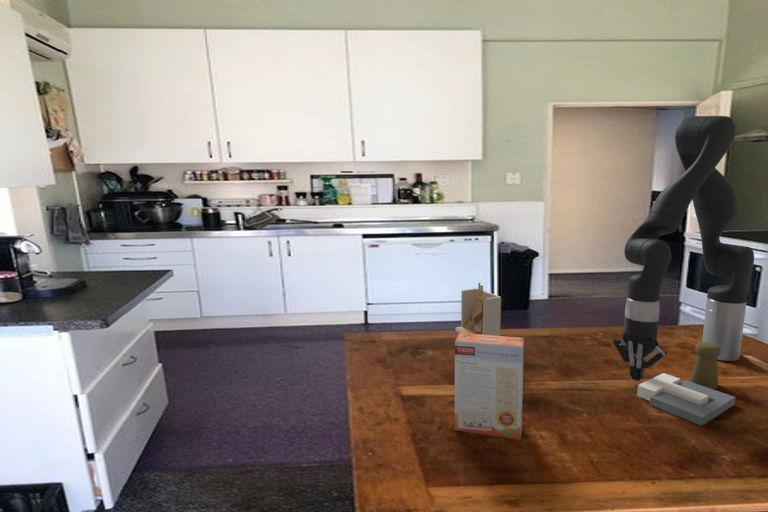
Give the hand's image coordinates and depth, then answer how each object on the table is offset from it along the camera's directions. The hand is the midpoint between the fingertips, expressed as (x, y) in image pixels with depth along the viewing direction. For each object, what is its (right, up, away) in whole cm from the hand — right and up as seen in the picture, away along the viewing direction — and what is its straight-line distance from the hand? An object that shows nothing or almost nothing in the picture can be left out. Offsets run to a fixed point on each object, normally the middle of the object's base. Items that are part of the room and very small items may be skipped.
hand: (636, 379), depth 117 cm
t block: (+5, -3, -8) cm, 10 cm away
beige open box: (-38, 0, +15) cm, 41 cm away
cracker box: (-43, -6, -19) cm, 47 cm away
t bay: (+7, -3, -11) cm, 13 cm away
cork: (+17, -1, -1) cm, 17 cm away
